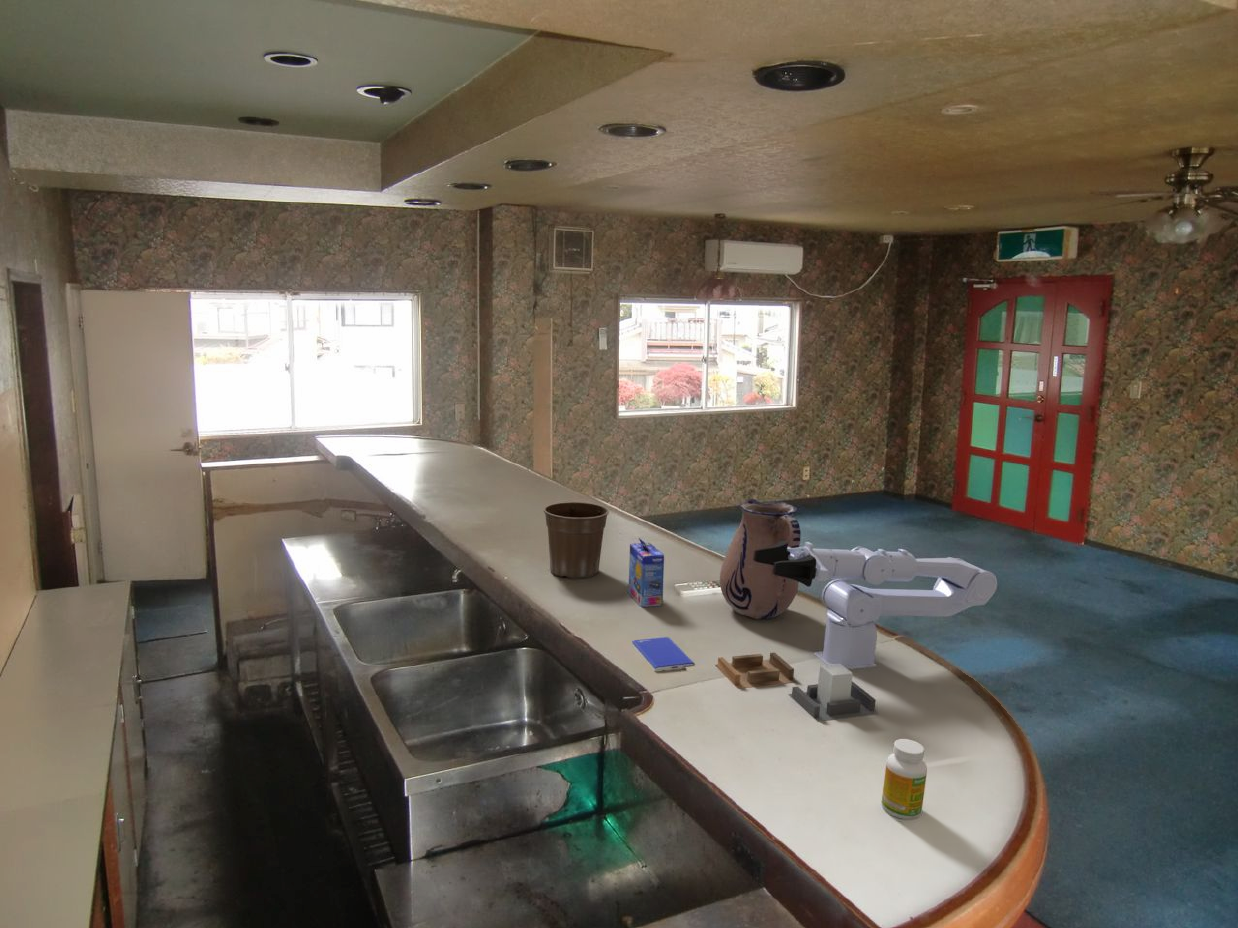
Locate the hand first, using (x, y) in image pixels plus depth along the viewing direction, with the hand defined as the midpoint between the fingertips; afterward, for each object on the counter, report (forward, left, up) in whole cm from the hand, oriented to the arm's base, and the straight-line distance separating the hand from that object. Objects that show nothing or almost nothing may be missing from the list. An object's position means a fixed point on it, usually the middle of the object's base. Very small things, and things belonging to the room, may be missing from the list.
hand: (764, 561), depth 156 cm
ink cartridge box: (+8, -40, -22) cm, 46 cm away
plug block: (-7, +16, -21) cm, 27 cm away
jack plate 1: (+1, +2, -22) cm, 22 cm away
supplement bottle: (0, +45, -22) cm, 50 cm away
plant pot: (+19, -62, -22) cm, 68 cm away
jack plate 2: (-7, +16, -22) cm, 28 cm away
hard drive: (+15, -10, -23) cm, 29 cm away
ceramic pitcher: (-15, -26, -22) cm, 37 cm away
